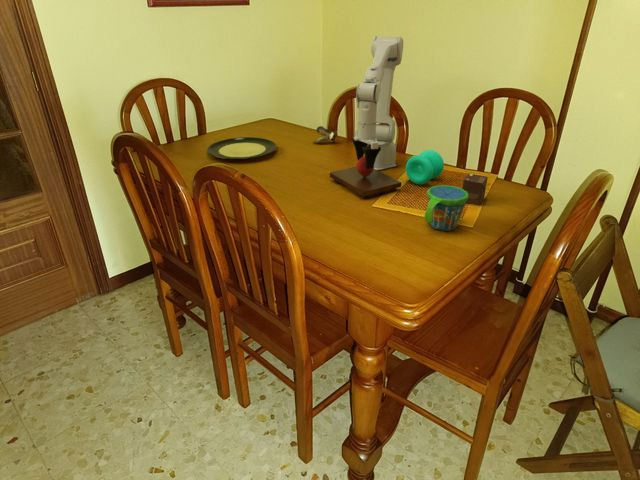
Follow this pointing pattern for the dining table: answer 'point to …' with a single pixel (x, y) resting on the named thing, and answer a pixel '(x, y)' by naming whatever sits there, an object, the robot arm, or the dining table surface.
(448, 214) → the snack cup
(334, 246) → the dining table surface
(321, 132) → the eagle figurine
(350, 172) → the platform
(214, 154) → the plate
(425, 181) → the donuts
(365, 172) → the onion
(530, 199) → the dining table surface
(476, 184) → the box
